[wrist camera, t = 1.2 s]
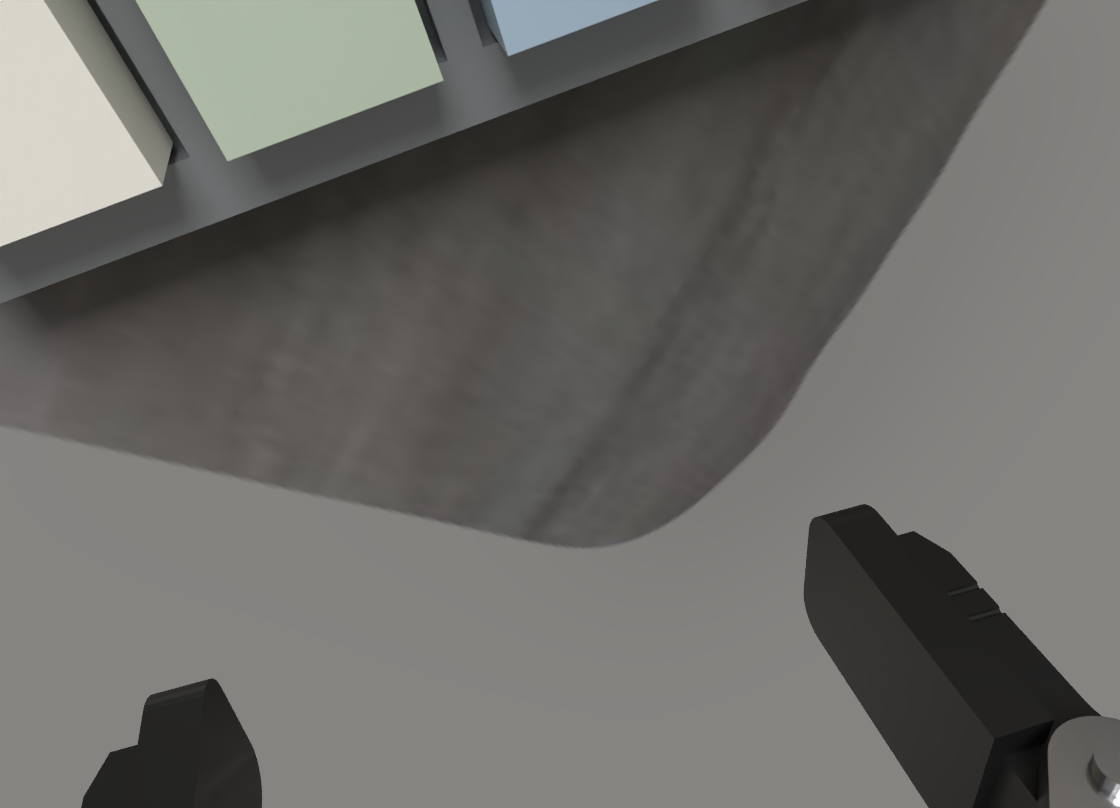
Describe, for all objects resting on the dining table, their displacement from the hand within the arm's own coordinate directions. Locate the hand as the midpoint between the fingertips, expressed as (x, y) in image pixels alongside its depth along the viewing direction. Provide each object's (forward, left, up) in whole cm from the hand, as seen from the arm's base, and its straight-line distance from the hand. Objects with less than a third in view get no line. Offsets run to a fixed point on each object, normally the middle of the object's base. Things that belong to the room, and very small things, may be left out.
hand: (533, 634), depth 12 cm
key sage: (-6, -1, -15) cm, 16 cm away
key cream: (-6, -7, -15) cm, 17 cm away
